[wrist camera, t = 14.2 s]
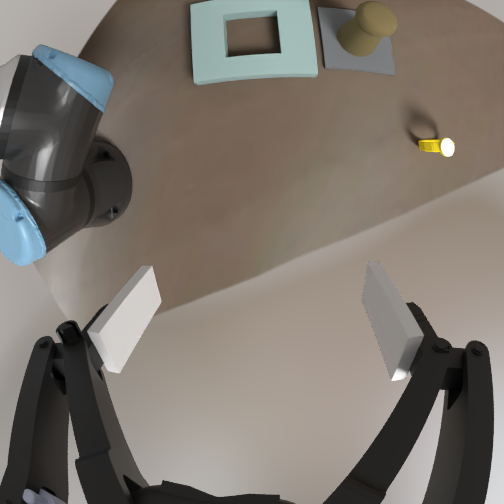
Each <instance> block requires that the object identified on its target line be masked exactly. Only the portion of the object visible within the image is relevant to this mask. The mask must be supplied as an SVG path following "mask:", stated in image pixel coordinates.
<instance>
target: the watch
mask: <svg viewBox="0 0 504 504" xmlns="http://www.w3.org/2000/svg"><path fill="white" fill-rule="evenodd" d="M418 143H419V149H420V150H422V151H430V152H440V153H441V154H442V155H444V156H447V157H449V156H451V155H452V154H453V153H454V150H455V149H454V142H453V141H451V139H449V138H442V139H441V140H438V139H434V140H419V141H418Z"/></svg>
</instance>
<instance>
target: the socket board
mask: <svg viewBox="0 0 504 504" xmlns="http://www.w3.org/2000/svg"><path fill="white" fill-rule="evenodd" d="M272 16H277V21H278V30H279V39H280V49H281V53H275V54H257V55H245V56H235V57H228V44H227V30H226V21H227V20H235V19H244V18H255V17H272ZM191 38H192V59H193V77H194V83H196V84H198V85H203V84H210V83H217V82H225V81H233V80H244V79H256V78H274V77H316V76H317V74H318V68H317V58H316V49H315V41H314V33H313V25H312V18H311V12H310V5H309V0H212V1H206V2H201V3H196V4H191Z"/></svg>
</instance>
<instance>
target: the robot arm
mask: <svg viewBox="0 0 504 504" xmlns="http://www.w3.org/2000/svg"><path fill="white" fill-rule="evenodd" d="M32 54H33V55H32V56H27V55H17V56H15V57H14V58H13V59H11V60H10V61H9V62H7V63H6V64H4V65H2V66H0V159H3V163H2V169H1V176H0V251H1V253H2V254H3V255H4V256H5V257H6V258H7V259H8V260H9V261H11V262H12V263H14V264H16V265H20V266H25V265H29V264H30V263H32V262H34V261H35V260H37V259H39V258H43V257H44V256H45V254H47V253H48V252H49V251H51V250H52V249H53V248H55V247H56V246H58V245H59V244H60V243H62V242H63V241H65V240H66V239H68V238H69V237H71V236H72V235H73V234H75V233H76V232H78V231H80V230H81V229H83V228H90V227H100V226H104V225H107V224H109V223H111V222H113V221H114V220H116V219H117V218H119V217H120V216H121V215H122V214H123V213H124V211H125V210H126V208H127V206H128V204H129V202H130V198H131V194H132V176H131V172H130V168H129V165H128V163H127V161H126V159H125V158H124V156H123V155H122V153H121V152H120V151H119V150H118V149H117V148H116V147H114V146H113V145H111V144H109V143H106V142H101V141H97V142H92V141H93V138H94V135H95V133H96V130H97V127H98V125H99V122H100V120H101V117H102V115H103V113H105V111H106V108H105V106H106V104H107V101H108V98H109V96H110V93H111V91H112V88H113V85H114V79H113V76H112V74H111V73H110V72H109V71H107V70H105V69H103V68H101V67H99V66H97V65H94V64H92V63H90V62H87V61H85V60H82V59H80V58H77V57H74V56H72V55H70V54H67V53H64V52H61V51H59V50H56V49H53V48H51V47H48V46H45V45H39V46H37V47H36V48H35V49H34V50H33V52H32ZM362 296H363V297H362V303H363V305H364V308H365V310H366V313H367V315H368V318H369V320H370V322H371V325H372V328H373V331H374V333H375V336H376V339H377V341H378V344H379V347H380V350H381V352H382V355H383V358H384V361H385V364H386V367H387V370H388V373H389V376H390V379H391V381H394V380H400V379H405V378H406V376H407V374H408V372H409V370H410V373H411V375H412V377H411V379H410V381H409V383H408V385H407V387H406V389H405V391H404V393H403V394H402V396H401V398H400V400H399V402H398V403H397V405H396V407H395V408H394V410H393V412H392V413H391V415H390V417H389V418H388V420H387V422H386V423H385V425H384V426H383V428H382V430H381V431H380V433H379V434H378V436H377V437H376V438H375V440H374V441H373V443H372V444H371V446H370V447H369V449H368V450H367V451H366V453H365V454H364V455H363V457H362V458H361V459H360V461H359V462H358V463H357V465H356V466H355V467H354V469H353V470H352V471H351V472H350V473H349V475H348V476H347V477H346V478H345V479H344V480H343V482H342V483H341V484H340V485H339V486H338V487H337V489H336V490H335V491H334V492H333V493H332V494H331V495H330V496H329V497H328V498H327V500H326V501H325V502H324V503H323V504H380V503H381V502H382V500H383V499H384V497H385V495H386V491H387V489H388V487H389V486H390V484H391V483H392V481H393V480H394V478H395V477H396V475H397V474H398V472H399V470H400V469H401V467H402V465H403V464H404V462H405V461H406V459H407V457H408V455H409V453H410V452H411V450H412V448H413V446H414V444H415V443H416V440H417V439H418V437H419V435H420V433H421V431H422V429H423V427H424V424H425V422H426V420H427V418H428V416H429V414H430V411H431V409H432V407H433V405H434V402H435V400H436V397H437V395H438V392H439V390H441V389H442V390H445V396H444V406H443V415H442V422H441V429H440V436H439V441H438V446H437V451H436V456H435V461H434V465H433V469H432V473H431V477H430V480H429V484H428V487H427V491H426V494H425V497H424V500H423V503H422V504H484V503H485V499H486V494H487V489H488V483H489V477H490V470H491V461H492V451H493V435H494V404H493V403H494V401H493V385H492V374H491V364H490V357H489V351H488V348H487V347H486V346H485V344H483V343H482V342H479V341H471V342H469V343H468V344H467V346H466V348H465V349H462V348H453V347H452V346H451V344H450V343H449V342H448V341H447V340H445V339H443V338H439V337H438V336H437V335H436V333H435V331H434V330H433V328H432V326H431V325H430V323H429V322H428V321H427V318H426V316H425V315H424V313H423V312H422V310H421V309H420V307H418V306H417V305H416V304H414V303H413V302H412V303H405V301H404V300H403V298H402V296H401V295H400V293H399V291H398V290H397V288H396V287H395V285H394V283H393V282H392V280H391V279H390V277H389V276H388V274H387V273H386V271H385V269H384V268H383V266H382V265H381V263H380V262H379V261H375V262H367V269H366V276H365V283H364V289H363V295H362ZM160 304H161V298H160V294H159V291H158V287H157V283H156V279H155V275H154V271H153V267H152V266H141V267H140V268H139V270H138V271H137V272H136V273H135V274H134V275H133V276H132V278H131V279H130V280H129V281H128V282H127V283H126V284H125V286H124V287H123V288H122V289H121V290H120V291H119V293H118V294H117V295H116V296H115V297H114V299H113V300H112V301H111V302H110V303H109V304H106V305H105V306H103V307H102V308H101V309H100V310H99V311H98V312H97V313H96V314H95V316H94V317H93V318H92V320H90V322H89V323H88V324H87V325H86V327H85V328H84V329H83V330H82V332H81V331H80V328H79V326H78V324H77V322H75V321H72V320H70V321H66V322H64V323H62V324H61V325H59V326H58V328H57V329H56V333H57V335H58V337H59V339H60V341H61V343H55V342H54V341H53V339H52V337H50V336H45V337H42V338H40V339H39V340H38V341H37V342H36V343H35V345H34V348H33V351H32V354H31V357H30V360H29V363H28V366H27V369H26V372H25V376H24V379H23V383H22V386H21V390H20V394H19V398H18V402H17V407H16V411H15V416H14V421H13V427H12V433H11V440H10V447H9V455H8V465H7V468H6V471H5V474H4V476H3V479H2V482H1V485H0V504H68V494H69V493H68V461H67V459H68V458H67V456H68V453H67V451H68V424H69V411H70V416H71V421H72V426H73V431H74V436H75V440H76V444H77V448H78V452H79V456H80V457H79V459H76V460H75V465H76V470H77V473H78V476H79V480H80V483H81V486H82V489H83V492H84V495H85V498H86V500H87V503H88V504H295V503H293V502H289V501H286V500H282V499H280V495H265V494H244V495H236V496H227V497H216V496H213V495H210V494H207V493H205V492H202V491H200V490H197V489H195V488H192V487H190V486H186V485H182V484H177V483H173V482H169V481H164V480H163V481H162V484H161V485H155V486H149V484H148V483H147V482H146V480H145V479H144V478H143V477H142V475H141V473H140V471H139V469H138V467H137V465H136V463H135V461H134V458H133V456H132V454H131V452H130V449H129V447H128V445H127V442H126V440H125V438H124V435H123V432H122V430H121V427H120V424H119V421H118V419H117V416H116V413H115V410H114V407H113V404H112V401H111V398H110V395H109V391H108V388H107V384H106V381H105V377H104V374H103V371H102V370H101V367H102V365H103V364H104V365H105V366H106V368H107V370H108V371H110V372H115V373H120V372H121V370H122V368H123V366H124V365H125V363H126V361H127V359H128V357H129V356H130V354H131V352H132V351H133V349H134V347H135V345H136V344H137V342H138V340H139V339H140V337H141V335H142V333H143V332H144V330H145V328H146V327H147V325H148V323H149V322H150V320H151V318H152V317H153V315H154V313H155V312H156V310H157V309H158V307H159V305H160ZM279 500H280V501H279Z"/></svg>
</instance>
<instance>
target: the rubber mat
mask: <svg viewBox="0 0 504 504" xmlns="http://www.w3.org/2000/svg"><path fill="white" fill-rule="evenodd" d="M317 10H318V17H319V23H320V30H321V38H322V46H323V54H324V64H325V68H327V69H343V70H355V71H364V72H372V73H379V74H386V75H392V76H395V67H394V60H393V52H392V46H391V40H390V36H388V37H383V38H382V39H381V41H380V42H379V44H378V45H377V47H376V48H375V50H374V51H373V53H372V54H370V55H368V56H364V57H359V56H354V55H352V54H350V53H348V52H347V51H345V50H344V49H343V48H342V47H341V45H340V43H339V41H338V37H337V34H338V30H339V29H340V28H341V27H342V26H343V25H344V24H345V23H347V22H348V21H349V20H351V19H352V18H353V17H355V12H356V11H354V10H347V9H337V8H326V7H318V8H317Z"/></svg>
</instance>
